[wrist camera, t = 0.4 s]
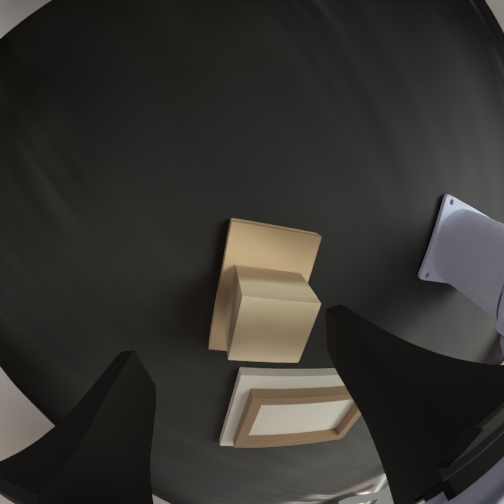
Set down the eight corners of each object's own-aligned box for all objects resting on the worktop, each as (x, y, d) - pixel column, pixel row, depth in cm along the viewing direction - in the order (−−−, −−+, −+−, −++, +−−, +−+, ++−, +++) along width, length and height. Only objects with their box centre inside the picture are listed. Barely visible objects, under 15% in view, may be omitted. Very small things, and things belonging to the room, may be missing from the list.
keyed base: (384, 364, 25) (394, 377, 23) (338, 431, 30) (343, 443, 28) (239, 367, 22) (242, 385, 20) (219, 438, 26) (220, 453, 24)
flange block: (230, 216, 18) (238, 242, 13) (315, 231, 19) (348, 260, 14) (208, 339, 21) (210, 387, 16) (279, 344, 22) (296, 389, 17)
